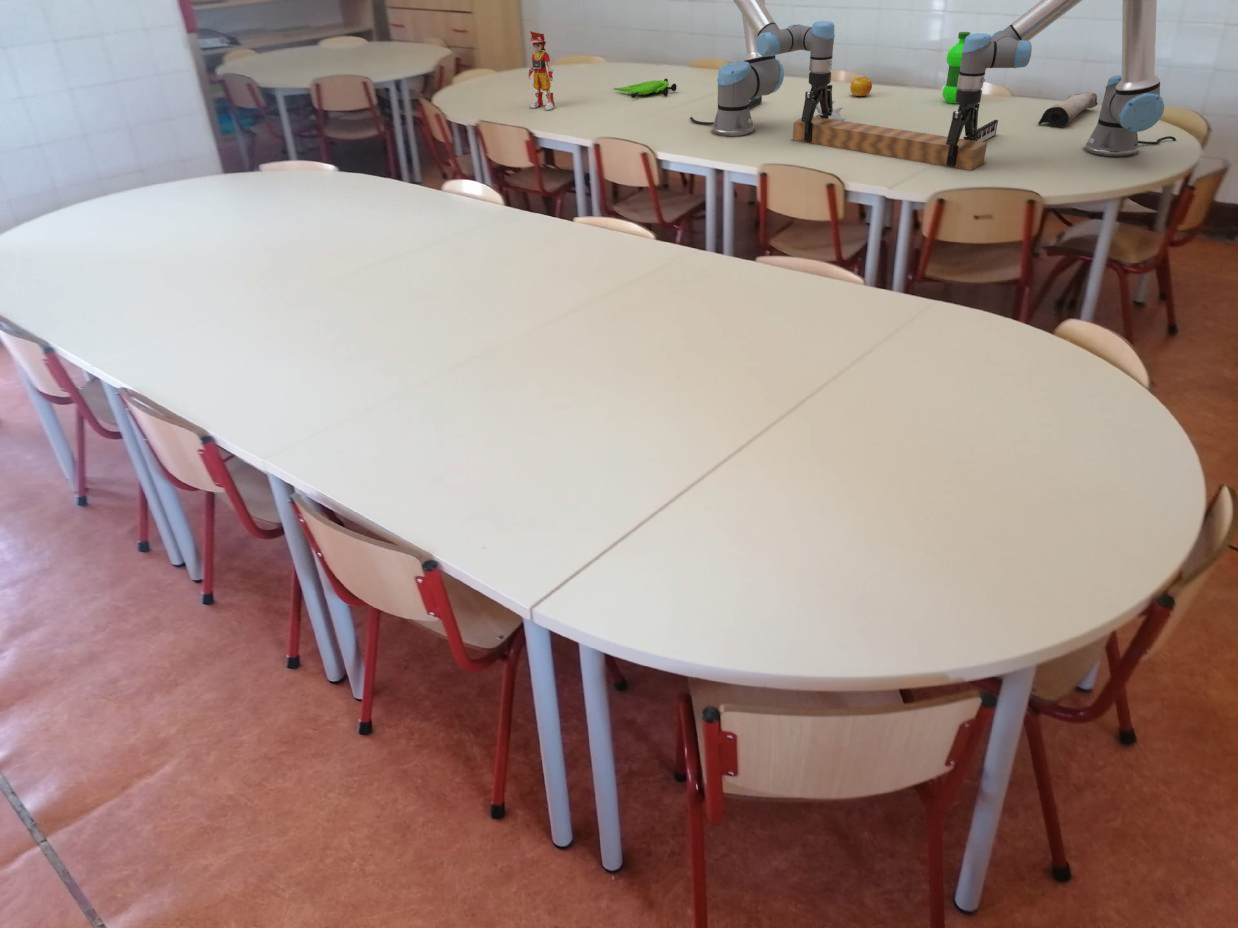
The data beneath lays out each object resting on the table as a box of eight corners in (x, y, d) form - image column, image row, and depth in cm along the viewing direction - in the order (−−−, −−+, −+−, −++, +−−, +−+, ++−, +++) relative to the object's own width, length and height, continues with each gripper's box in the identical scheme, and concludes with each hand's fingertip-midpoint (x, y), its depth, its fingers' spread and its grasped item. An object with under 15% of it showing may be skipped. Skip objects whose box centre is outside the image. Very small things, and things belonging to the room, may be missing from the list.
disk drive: (746, 111, 360) (762, 102, 370) (746, 104, 358) (762, 95, 368) (723, 109, 364) (739, 100, 374) (723, 102, 363) (739, 93, 373)
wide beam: (792, 140, 323) (793, 121, 320) (806, 134, 329) (808, 115, 325) (970, 170, 285) (974, 149, 281) (983, 163, 290) (987, 142, 287)
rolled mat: (1065, 97, 339) (1089, 80, 331) (1078, 117, 340) (1103, 101, 331) (1034, 118, 322) (1058, 101, 314) (1048, 140, 322) (1073, 123, 314)
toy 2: (686, 85, 398) (631, 84, 414) (685, 72, 395) (629, 72, 411) (651, 104, 381) (596, 103, 397) (650, 92, 378) (594, 91, 394)
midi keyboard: (974, 147, 304) (977, 131, 301) (970, 146, 305) (973, 131, 302) (995, 135, 315) (998, 120, 312) (992, 134, 315) (994, 119, 313)
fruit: (845, 88, 367) (857, 70, 364) (847, 92, 375) (859, 74, 372) (862, 99, 366) (874, 81, 363) (864, 103, 374) (876, 85, 371)
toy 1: (525, 109, 381) (517, 32, 364) (534, 104, 388) (527, 28, 371) (550, 110, 377) (543, 32, 360) (559, 105, 384) (553, 28, 367)
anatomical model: (809, 92, 345) (834, 85, 344) (812, 119, 351) (837, 112, 350) (819, 101, 333) (845, 94, 332) (822, 129, 339) (848, 122, 338)
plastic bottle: (973, 101, 354) (984, 32, 339) (955, 106, 349) (966, 36, 335) (952, 97, 361) (962, 29, 346) (934, 102, 356) (944, 33, 342)
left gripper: (812, 79, 301) (807, 147, 313) (846, 66, 314) (840, 132, 326) (793, 76, 305) (789, 144, 318) (828, 64, 318) (823, 129, 331)
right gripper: (965, 97, 270) (953, 172, 282) (996, 83, 283) (983, 155, 295) (941, 95, 274) (930, 168, 287) (973, 80, 287) (962, 151, 300)
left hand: (815, 138), depth 322 cm, fingers closed on wide beam, 9 cm apart
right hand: (957, 161), depth 291 cm, fingers closed on wide beam, 9 cm apart
